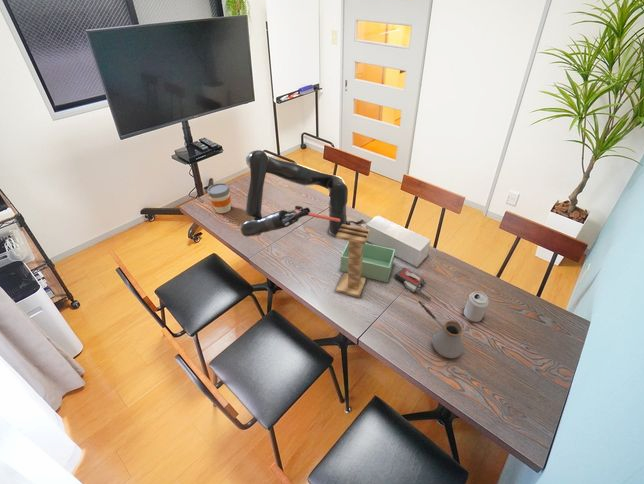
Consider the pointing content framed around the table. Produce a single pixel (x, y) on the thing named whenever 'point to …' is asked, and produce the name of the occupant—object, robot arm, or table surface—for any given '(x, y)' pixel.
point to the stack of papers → (398, 240)
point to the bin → (372, 261)
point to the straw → (321, 216)
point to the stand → (353, 259)
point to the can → (476, 306)
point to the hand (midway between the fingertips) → (308, 211)
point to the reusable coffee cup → (220, 197)
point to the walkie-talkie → (411, 281)
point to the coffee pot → (447, 338)
